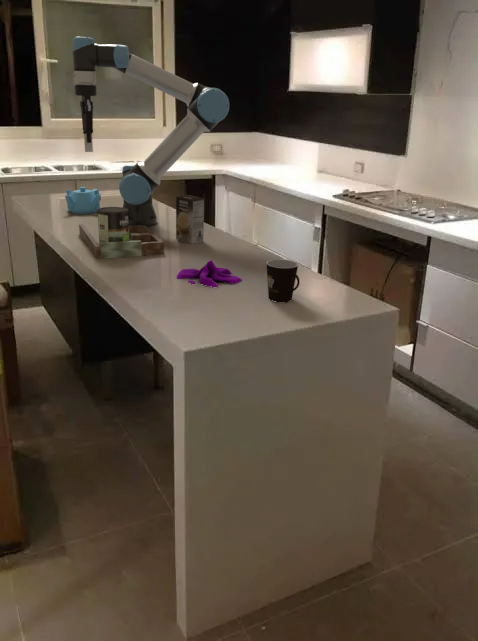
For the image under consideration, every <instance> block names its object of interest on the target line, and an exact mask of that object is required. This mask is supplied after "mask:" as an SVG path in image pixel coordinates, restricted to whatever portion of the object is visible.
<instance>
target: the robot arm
mask: <svg viewBox="0 0 478 641" xmlns="http://www.w3.org/2000/svg"><path fill="white" fill-rule="evenodd" d="M72 57H73V74H72V78H73V77H74V83H76V84H75V85H74V93H75V96H76V97H77V96H81V100H80V101H79V103H80V105H79V106H80V110H81V121H82V122H81V123H82V134H83V139H84V152H85V153H94V148H93V143H94V142H93V133H94V124H93V123H94V120H93V119H94V116H93V115H94V114H93V113H94V112H93V111H94V105H93V104H94V102H93V101H92V100H91V97H96V96H97V85H96V83H97V71H96V67H97V68H112V69H115V70H117V71H118V72H121V73H123V74H125V75H127V76H129V77H132V78H133V79H136V80H138V81H140V82H142V83H144V84H146V85H148V86H150V87H152V88H155V89H156V90H158V91H160V92H163V93H165V94H167V95H169V96H170V97H171V96H172V97H173V98H175V99H177V100H178V101H181V102H183V103H185V104H186V106H187V109H186V110H187V112H186V113H187V114H186V115H185V117H184V118H183V119H182V120H181V121H180V122H179V123H178V124H177V125H176V126H175V127H174V129H173V130H172V131H171V132H170V133H169V134H168V135H167V136H165V138H164V139H163V140H162V141H161V143H159V145H158V146H157V147H156V148H155V149H154V150H153V151H152V153H150V154H149V156H147V158H145V159H144V161H138V162H136V164H134V165H123V166H122V171H121V174H122V178H121V180H120V182H119V183H118V184H119V185H118V190H119V194H120V196H121V198H122V199H123V205H122V208H127V209H128V210H129V212H128V223H129V226H139V225H145V226H146V227H147V226H153V225H156V224H157V223H158V216H157V213H156V210H155V208H154V204H153V193H154V191H156V189H157V188H158V187H159V186H160V185H161V178H163V176H164V175H165V174H166V173H167V172H168V171H169V170H170V169H171V167H172V166H173V165H174V164H175V163H176V162H177V161H178V160H179V159H180V158H181V157H182V155H183V154H185V153H186V152H187V151H188V150H189V148H190V147H191V146H192V145H193V144H194V143H195V142H196V141H197V140H198V139H199V138H200V137H201V135H202V134H204V133H209V132H211V131H212V130H213V129H214V128H215V127H216V126H217V125H218V124H219V122H221V121H223V120H225V118H226V117H227V116H228V114H229V111H230V100H229V97H228V96H227V94H226V92H224V91H222V90H221V89H220V88H217V87H209V86H206V85H203V84H201V83H199V82H195V83H192V82H190V81H189V80H186V79H185V78H182V77H180V76H178V75H176V74H174V73H172V72H170V71H168V70H166V69H164V68H161V67H160V66H157V65H156V64H154V63H151V62H150V61H148V60H145V59H143V58H141V57H139V56H137V55H136V54H132V53H131V52H129V47H128V45H125V44H124V45H123V44H102V43H101V44H98V43H95V39H94V38H93V37H87V36H75V37H73V39H72Z"/></svg>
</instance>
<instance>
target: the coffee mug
mask: <svg viewBox="0 0 478 641" xmlns="http://www.w3.org/2000/svg"><path fill="white" fill-rule="evenodd" d="M265 264H266V266H265V267H266V279H267V293H268V294H267V295H268V296H267V297H268V300H269V299H270V301H271V300H273V301H276V302H275V303H279V302H285V303H289V302H288V301H290V300H291V301H292V300H293V296H294V295H293V294H294V292H295V291H296V290H297V289H298V288H299V286H300V278H299V275H297V272H298V267H299V263H298V262H297V261H294V260H290V259H281V258H279V259H270V260H267V261H266V263H265ZM296 282H297V283H296ZM295 283H296V284H295ZM295 285H296V286H295ZM273 301H272V302H273ZM291 301H290V302H291Z"/></svg>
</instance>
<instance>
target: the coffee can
mask: <svg viewBox="0 0 478 641" xmlns="http://www.w3.org/2000/svg"><path fill="white" fill-rule="evenodd" d="M128 212H129V210H128V209H127V208H123V206H122V207H121V206H120V207H119V206H106V207H100V208H99V209H97V212H96V213H97V222H98V223H97V224H98V244H99V245H100V243H103V242H120V241H130V237H129V223H128Z"/></svg>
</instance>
